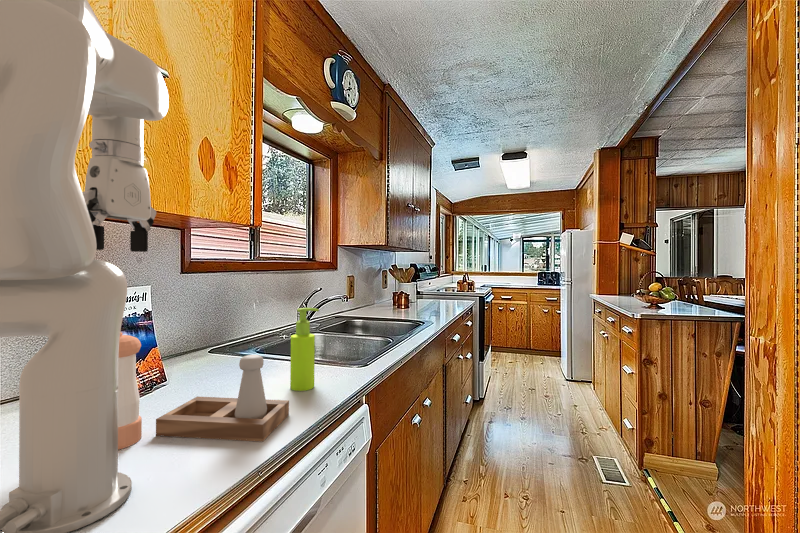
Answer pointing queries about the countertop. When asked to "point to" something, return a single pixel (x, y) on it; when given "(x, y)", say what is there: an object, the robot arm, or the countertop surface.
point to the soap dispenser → (302, 354)
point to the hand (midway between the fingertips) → (118, 250)
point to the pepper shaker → (128, 393)
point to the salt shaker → (251, 389)
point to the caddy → (220, 420)
